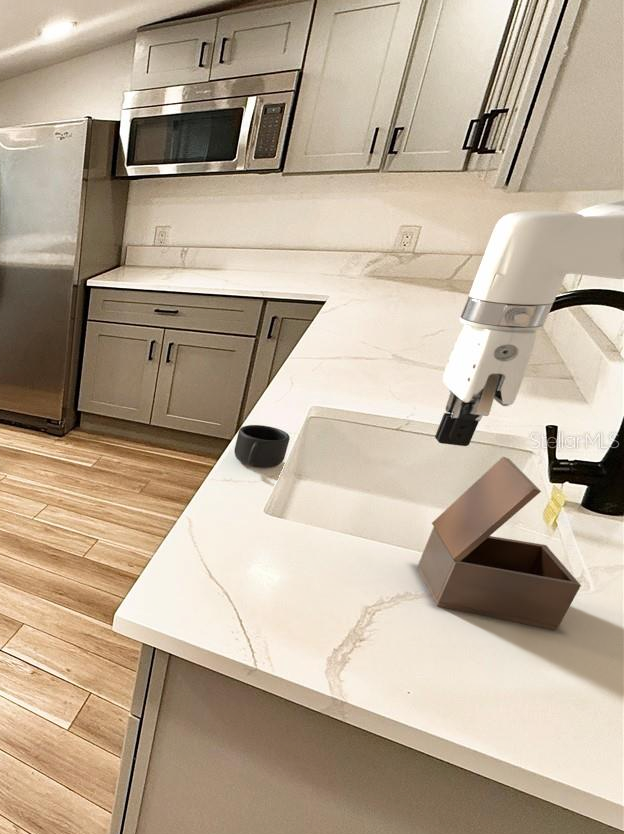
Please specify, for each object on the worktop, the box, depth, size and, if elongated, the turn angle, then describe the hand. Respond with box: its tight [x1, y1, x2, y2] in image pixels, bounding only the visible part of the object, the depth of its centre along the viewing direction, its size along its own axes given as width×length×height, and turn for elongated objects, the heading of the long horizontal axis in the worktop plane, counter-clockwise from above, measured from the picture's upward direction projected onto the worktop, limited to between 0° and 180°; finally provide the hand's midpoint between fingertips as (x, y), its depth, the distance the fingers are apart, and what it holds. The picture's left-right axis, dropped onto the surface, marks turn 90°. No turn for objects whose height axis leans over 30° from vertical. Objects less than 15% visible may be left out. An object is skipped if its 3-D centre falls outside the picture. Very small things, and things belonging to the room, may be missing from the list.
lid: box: [431, 456, 542, 561], centre depth 87 cm, size 13×10×1 cm
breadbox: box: [416, 526, 582, 631], centre depth 90 cm, size 12×10×8 cm
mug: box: [233, 424, 291, 469], centre depth 131 cm, size 12×9×7 cm
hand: (451, 442), depth 86 cm, fingers closed
